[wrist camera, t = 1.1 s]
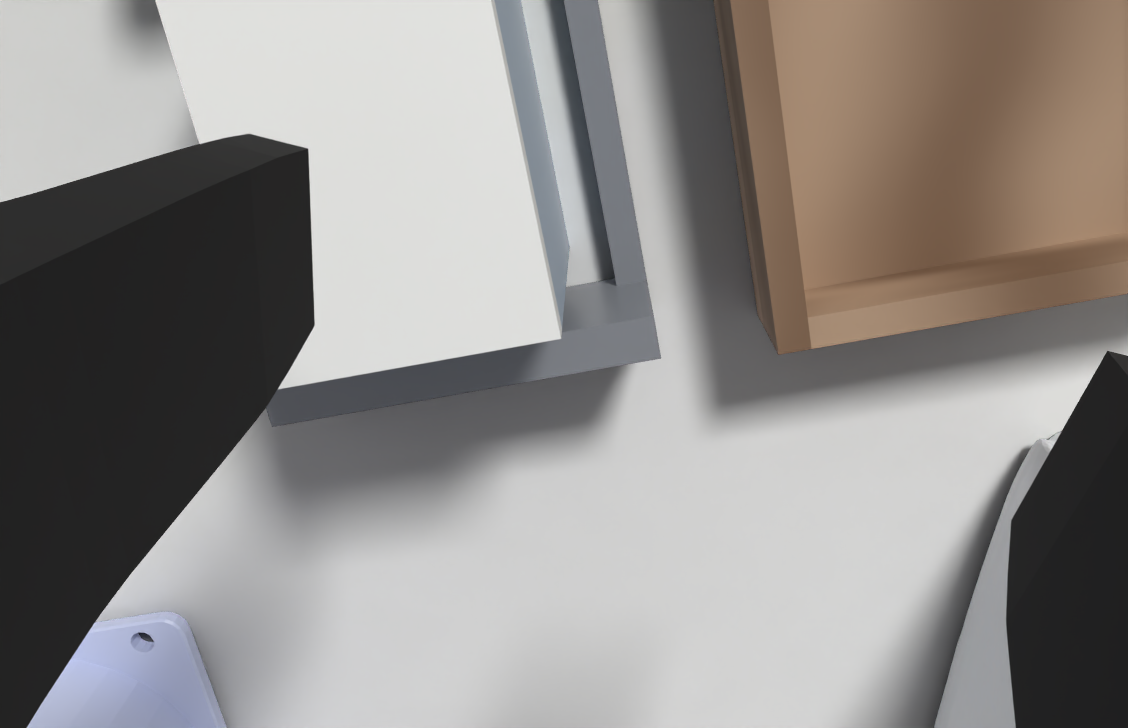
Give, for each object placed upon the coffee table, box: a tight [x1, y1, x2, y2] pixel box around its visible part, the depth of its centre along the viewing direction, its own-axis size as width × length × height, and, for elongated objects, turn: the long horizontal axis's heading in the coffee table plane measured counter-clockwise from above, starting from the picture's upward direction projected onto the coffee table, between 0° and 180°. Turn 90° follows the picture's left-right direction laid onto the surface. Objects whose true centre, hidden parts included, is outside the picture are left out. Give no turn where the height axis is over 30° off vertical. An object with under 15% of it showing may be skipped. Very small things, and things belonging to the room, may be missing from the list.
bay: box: [266, 0, 661, 427], centre depth 18 cm, size 7×10×3 cm
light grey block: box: [155, 0, 570, 389], centre depth 17 cm, size 4×7×6 cm, turn 11°
